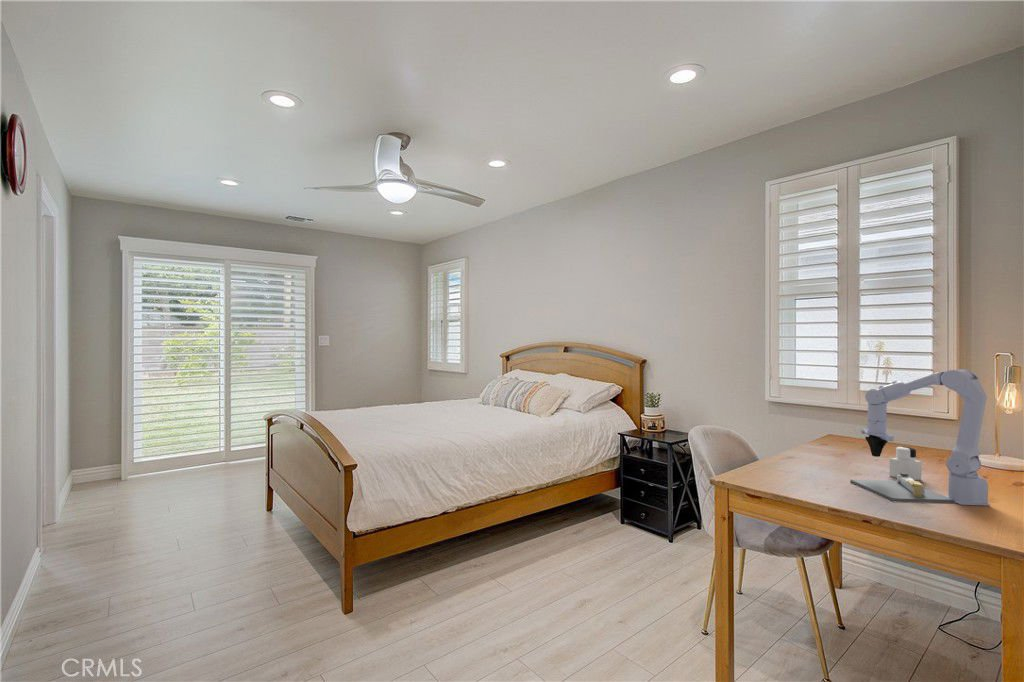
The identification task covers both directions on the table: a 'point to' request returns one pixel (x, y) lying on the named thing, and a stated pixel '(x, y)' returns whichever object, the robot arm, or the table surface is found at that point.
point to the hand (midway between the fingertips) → (876, 456)
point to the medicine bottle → (905, 463)
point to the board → (899, 491)
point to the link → (903, 481)
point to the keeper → (916, 488)
